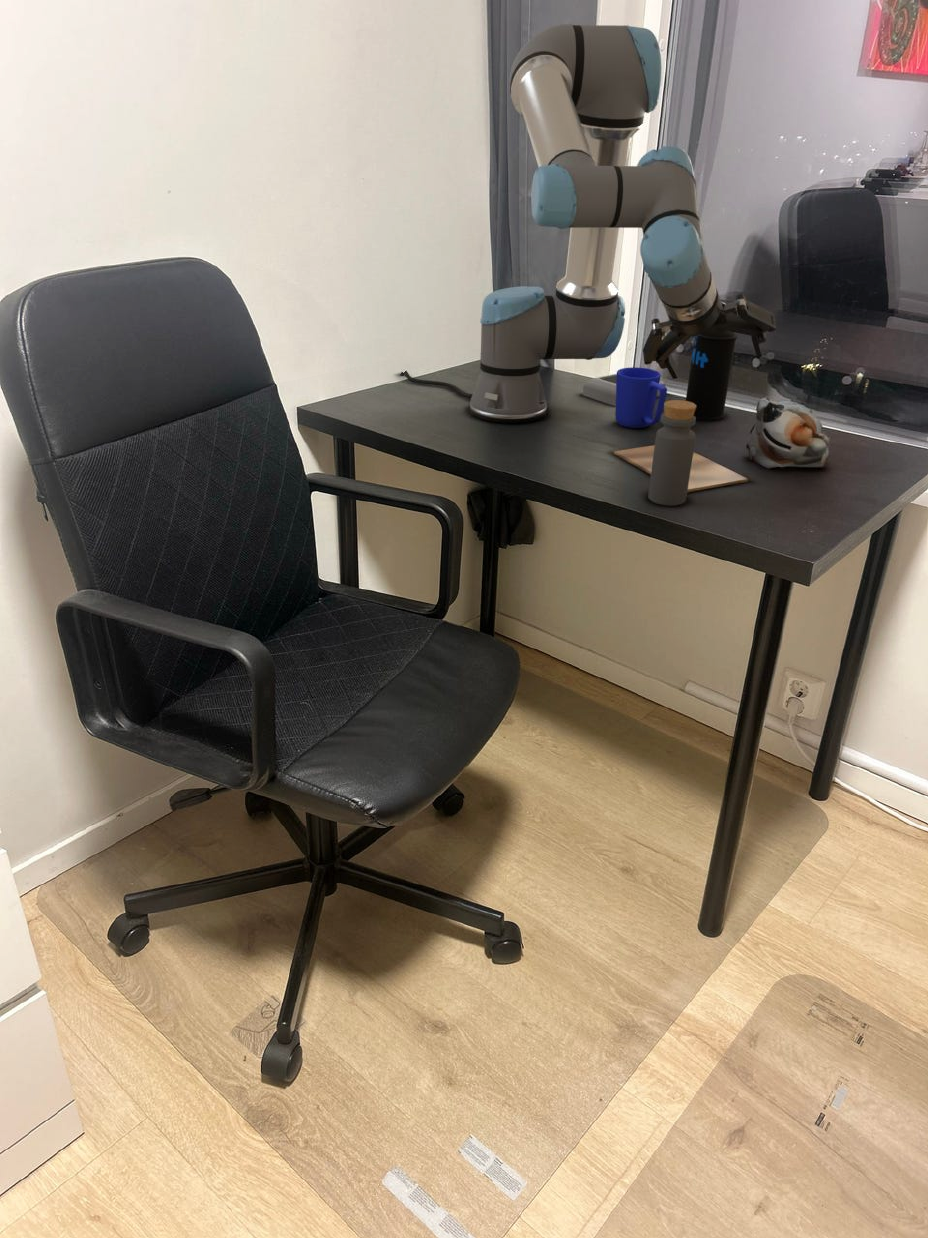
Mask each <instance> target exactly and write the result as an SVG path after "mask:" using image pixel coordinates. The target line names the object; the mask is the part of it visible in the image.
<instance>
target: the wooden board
mask: <svg viewBox="0 0 928 1238" xmlns="http://www.w3.org/2000/svg"><path fill="white" fill-rule="evenodd" d="M654 447H655V444H654V445H653V444H652V445H647V446H640V447H634V448H627V449H619V450H614V451H613V454H614V455H615V456H617V457H619V458H621V459H622V460H624V461H626V462H627V463H630V464H631V465H633V466H634V467H636V468H638V469H639V470H642V471H643V472H645V473H647V474H649V475H651V470H652V462H653V455H654ZM748 482H749V478H747V477H745V476H743V475H741V474H739V473H737V472H736V471H734V470H731V469H729V468H727V467H725V466H723V465H722V464H719V463H717V462H715V461H713V460H710V459H709V458H708V457H707V458H706V457H704V456H703V455H701V454H698V453H697V452H695V451H694V452H693V458H692V465H691V471H690V478H689V484H688V490H687V493H691V492H698V491H702V490H709V489H714V488H720V487H725V486H731V485H737V484H742V483H748Z"/></svg>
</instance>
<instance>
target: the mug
mask: <svg viewBox="0 0 928 1238" xmlns="http://www.w3.org/2000/svg"><path fill="white" fill-rule="evenodd" d="M616 374H617V379H616V406H615V421H616V423H617V424H618V425H619V426H622V427H624V428H628V429H643V428H646V427H648V426H649V425H656V424H657V423H659V421H661V415H662V414H663V413H664V412H663V411H664V403H665V402H666V398H667V394H668V388H667V387H666V386H663V385H661V384H659V382H660V381H661V377H662V374H661V372H659V371H658V370H656V369H652V368H647V367H635V366H632V367H623V368H620V369H618V370H617V371H616ZM658 389H659V390H660V395H659V396H657V392H658ZM657 397H658V400H657ZM656 401H658V402H657V407H656V411H655V414H654V410H655V406H656ZM653 414H654V417H653Z"/></svg>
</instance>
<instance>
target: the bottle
mask: <svg viewBox="0 0 928 1238" xmlns="http://www.w3.org/2000/svg"><path fill="white" fill-rule="evenodd" d="M695 409H696V405H695V404H694V403H692V402H689V401H686V400H682V399H670V400H665V403H664V408H663V411H664V412H662V415H661V418H660V422H661V423H662V424H663V426H662V427H660V428H659V429H657V431H656V433H655V441H654V445H655V447H654V455H653V462H652V470H651V474H650V479H649V486H648V494H647V495H648V496H647V497H648V499H649V501H651V502H652V503H655V504H657V505H662V506H674V507H675V506H680V505H683V504H685V502H687V495H688V492H687V490H688V484H689V478H690V471H691V465H692V458H693V452H695V445H696V444H695V443H696V433H695V431H693V430H692V427H693V426H695V425H696V422H697V421H696V420H697V419H696V417H695V416H693V415H694V412H695Z"/></svg>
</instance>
